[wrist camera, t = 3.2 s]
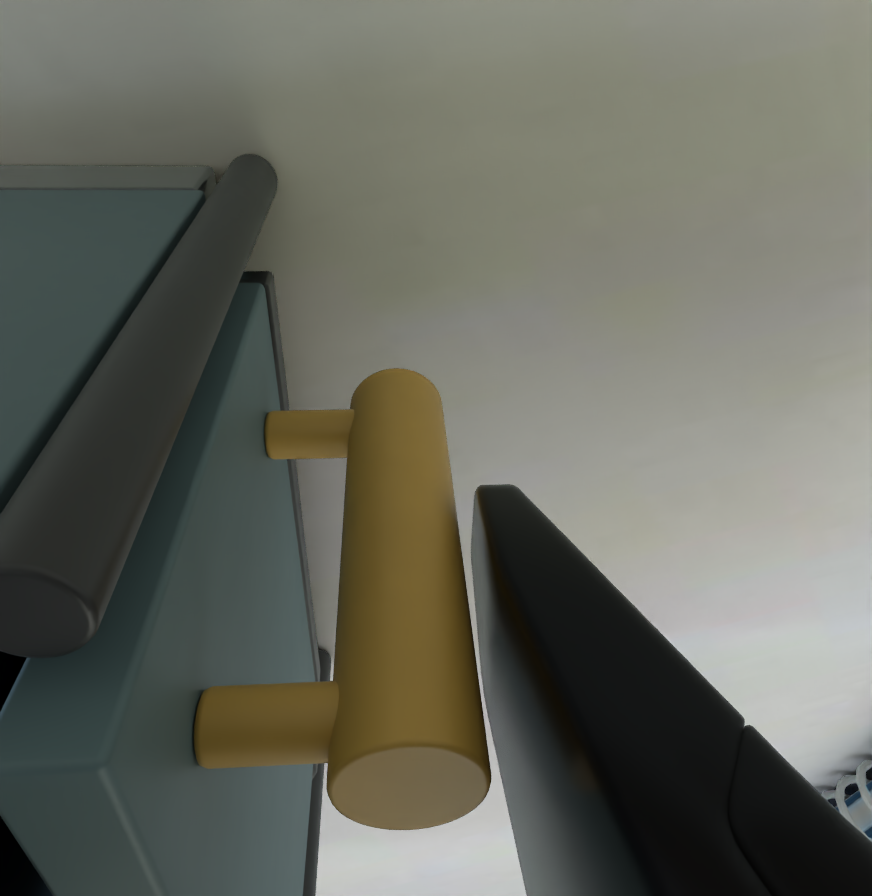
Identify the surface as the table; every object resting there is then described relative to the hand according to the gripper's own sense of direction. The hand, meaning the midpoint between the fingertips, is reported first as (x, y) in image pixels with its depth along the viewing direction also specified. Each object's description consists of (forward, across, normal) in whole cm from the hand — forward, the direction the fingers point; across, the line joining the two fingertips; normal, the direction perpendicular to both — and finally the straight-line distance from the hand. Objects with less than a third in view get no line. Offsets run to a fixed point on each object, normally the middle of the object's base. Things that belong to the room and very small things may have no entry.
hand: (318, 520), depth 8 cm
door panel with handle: (+3, 0, +3) cm, 4 cm away
